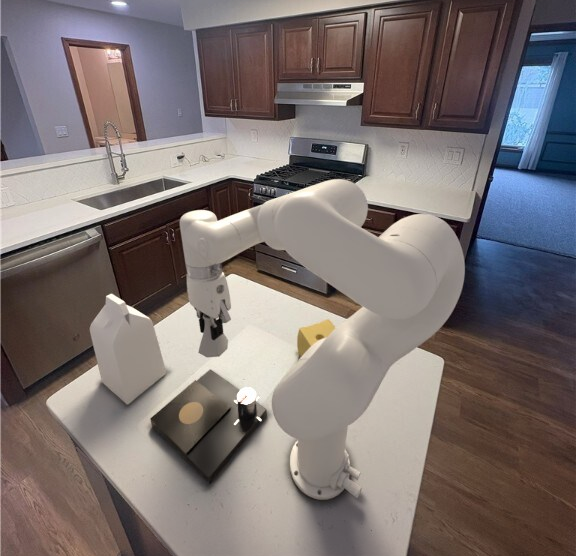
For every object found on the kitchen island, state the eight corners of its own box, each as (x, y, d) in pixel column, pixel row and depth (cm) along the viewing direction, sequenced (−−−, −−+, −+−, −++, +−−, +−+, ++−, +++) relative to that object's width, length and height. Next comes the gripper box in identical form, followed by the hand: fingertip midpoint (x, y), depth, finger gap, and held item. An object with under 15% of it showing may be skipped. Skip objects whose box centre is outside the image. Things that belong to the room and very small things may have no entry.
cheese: (345, 368, 89) (347, 341, 85) (310, 380, 85) (312, 352, 81) (327, 343, 97) (329, 317, 94) (295, 353, 94) (296, 326, 90)
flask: (221, 361, 73) (217, 326, 69) (193, 355, 74) (187, 322, 70) (233, 339, 79) (230, 306, 75) (206, 334, 81) (202, 302, 77)
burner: (230, 408, 75) (230, 407, 75) (186, 455, 65) (185, 453, 65) (195, 381, 82) (195, 379, 82) (150, 420, 72) (150, 418, 72)
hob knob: (246, 398, 77) (245, 383, 75) (260, 408, 75) (259, 392, 73) (234, 412, 74) (232, 396, 72) (248, 422, 72) (247, 406, 70)
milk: (166, 373, 87) (151, 295, 76) (127, 404, 78) (104, 321, 68) (140, 354, 93) (123, 280, 83) (101, 381, 84) (77, 302, 74)
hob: (272, 412, 76) (272, 406, 75) (212, 486, 62) (211, 480, 61) (214, 371, 87) (213, 365, 87) (151, 425, 73) (150, 419, 72)
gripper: (243, 271, 66) (247, 338, 73) (194, 249, 75) (202, 311, 82) (216, 287, 61) (223, 358, 68) (166, 262, 70) (178, 327, 77)
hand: (211, 332), depth 75 cm, fingers closed on flask, 3 cm apart
